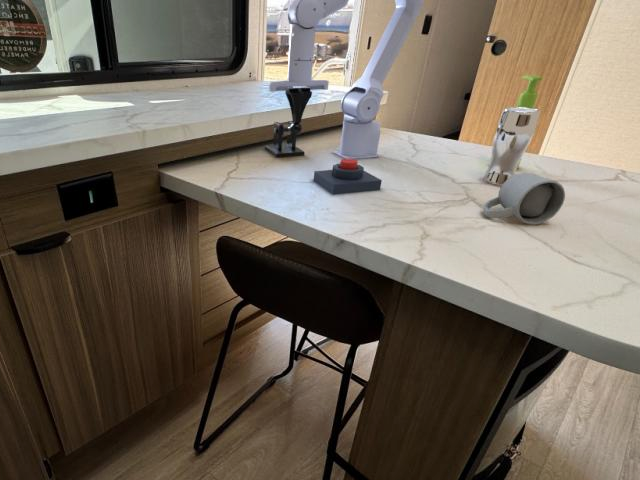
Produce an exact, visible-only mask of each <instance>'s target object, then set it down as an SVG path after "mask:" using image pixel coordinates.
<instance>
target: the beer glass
mask: <svg viewBox="0 0 640 480" xmlns="http://www.w3.org/2000/svg"><path fill="white" fill-rule="evenodd" d="M540 115H541V109H538V108H534V107H533V108H525V107H516V106H506V107H504V108H503V110H502V112H501V115H500V118H499V120H498V123H497V126H496V129H495V132H494V136H493V139H492V140H493V142H492V148H491V156H490V161H489V165H488V168H487V170H486V172H485V173H484V175H483V178H482V181H483V183H485V184H489V185H491V186H498V187H501V186H502V185H503V183H504V182H505V181H506V180H507V179H508V178H510V177H511V176H513V175H515V174H516V171H517V170H516V168H517V165H518V163H519V161H520V159H521V160H522V159H523V158H522V157H523V156H524V155H525V152H526V150H527V149H528V147H529V146H530V143H531V141H532V139H533V137H534V134H535V132H536V128H537V124H538V121H539V117H540ZM520 162H521V161H520ZM519 164H520V163H519Z"/></svg>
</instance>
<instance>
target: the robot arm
mask: <svg viewBox="0 0 640 480" xmlns="http://www.w3.org/2000/svg"><path fill="white" fill-rule="evenodd" d="M348 3H349V0H293V1H292V2H291V4H290V5H289V7H288V11H287V13H286V20H287V22H288V24H289V26H290V30H289V31H290V32H289V44H288V46H289V47H288V63H287V64H288V65H287V66H288V67H287V80H277V81H269V82H268V83H269V86H268V87H269V88H268V90H269V91H268V92H271V93H273V92H285V96H286V98H287V102H288V104H289V108H290V111H291V118H292V119H291V120H292V122H294V123H300V124H301V123H302V118H303V115H304V112H305V109H306V107H307V105H308V103H309V101H310V99H311V98H312V96H313V91H315V90H316V91H317V90H322V91H323V90H324V91H327V90H329V80H327V79H313V78H312V77H313V65H314V53H315V43H316V42H315V40H316V29H317V26H318V24H319V23H320V21H322V20H323V19H326V18H327V17H329V16H331V15H332V14H334V13H336V12H338V11H340V10H342V9H344V8H345V7H346V6H347V5H348ZM394 3H395V9H394V12H393V14H392V16H391V18H390V20H389V22H388V24H387V25H386V28H385V29H384V31H383V33H382V36H381V38H380V39H379V41H378V44H377V46H376V47H375V49H374V52H373V54H372V56H371V58H370V59H369V62H368V63H367V65H366V68H365V69H364V72H363V73H362V76H360V77H359V78H357V80H356V81H354V82H353V83H352V86H350V89H349V90H348V91H347V92H346V93H345V94H344V95H343V97H342V99H341V101H340V102H341V103H340V109H341V112H342V113H343V121H342V130H341V137H340V146H339V150H333V154H335V155H337V156H339V157H341V158H342V159H355V160H359V159H372V158H379V155H378V150H379V149H378V148H379V144H380V137H381V124H380V122H379V121H378V120H376V119H375V118H376V117H377V116H378V114H379V111H380V108H381V102H382V99H383V97H384V95H385V94H384V89H383V83H384V82H385V80H386V78H387V77H388V74H389V72H390V70H391V68H392V67H393V65H394V63H395V61H396V59H397V57H398V56H399V53H400V52H401V50H402V48H403V46H404V44H405V42H406V40H407V38H408V36H409V34H410V32H411V30H412V28H413V26H414V25H415V23H416V21H417V19H418V17H419V15H420V14H421V11H422V9H423V7H424V3H425V0H394Z"/></svg>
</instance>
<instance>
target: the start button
mask: <svg viewBox="0 0 640 480" xmlns="http://www.w3.org/2000/svg"><path fill="white" fill-rule="evenodd" d="M358 163H359V161H358V159H344V158H341V159H340V162H339V164H340V169H344V170H356V169H357V165H358Z"/></svg>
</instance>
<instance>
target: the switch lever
mask: <svg viewBox="0 0 640 480" xmlns="http://www.w3.org/2000/svg"><path fill="white" fill-rule="evenodd" d="M282 125H283V133H282V136H287V135H290V134H291V133H292V134H294V135H296V136H298V135H300V134H301V133H302V132H303V125H302V124H301V123H293V124H292V125H288V124H282Z"/></svg>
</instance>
